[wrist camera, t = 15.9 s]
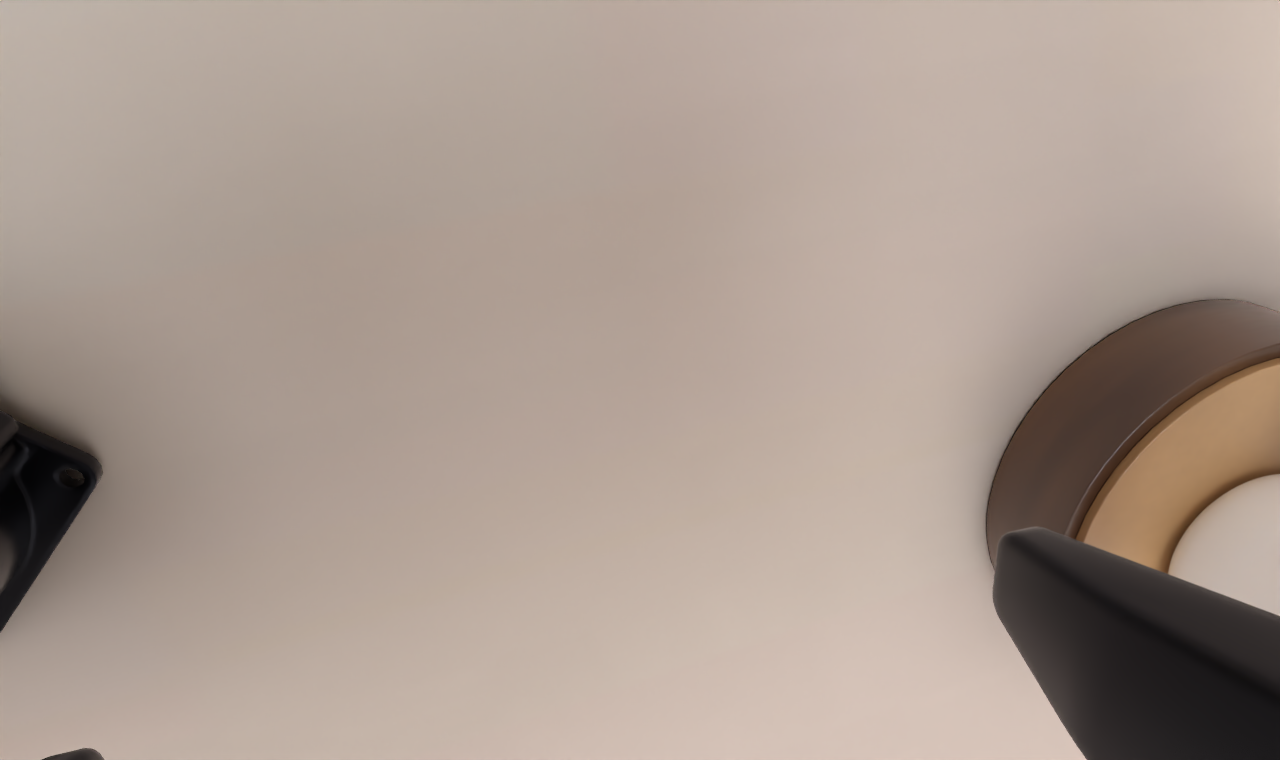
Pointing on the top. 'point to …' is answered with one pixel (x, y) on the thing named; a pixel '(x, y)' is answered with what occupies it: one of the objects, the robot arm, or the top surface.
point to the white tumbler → (1236, 545)
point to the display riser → (1147, 432)
